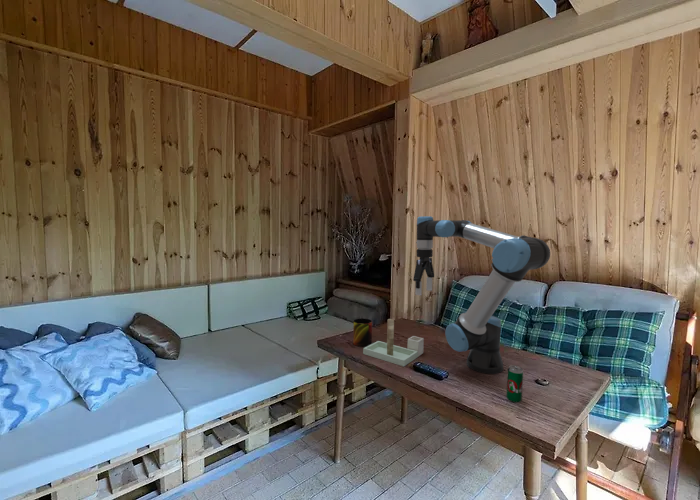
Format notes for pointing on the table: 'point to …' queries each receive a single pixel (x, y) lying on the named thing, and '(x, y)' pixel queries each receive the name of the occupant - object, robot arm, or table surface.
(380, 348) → the tray
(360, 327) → the mug
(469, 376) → the table surface
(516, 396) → the soda can
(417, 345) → the cup
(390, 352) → the dowel
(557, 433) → the table surface
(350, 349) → the table surface
